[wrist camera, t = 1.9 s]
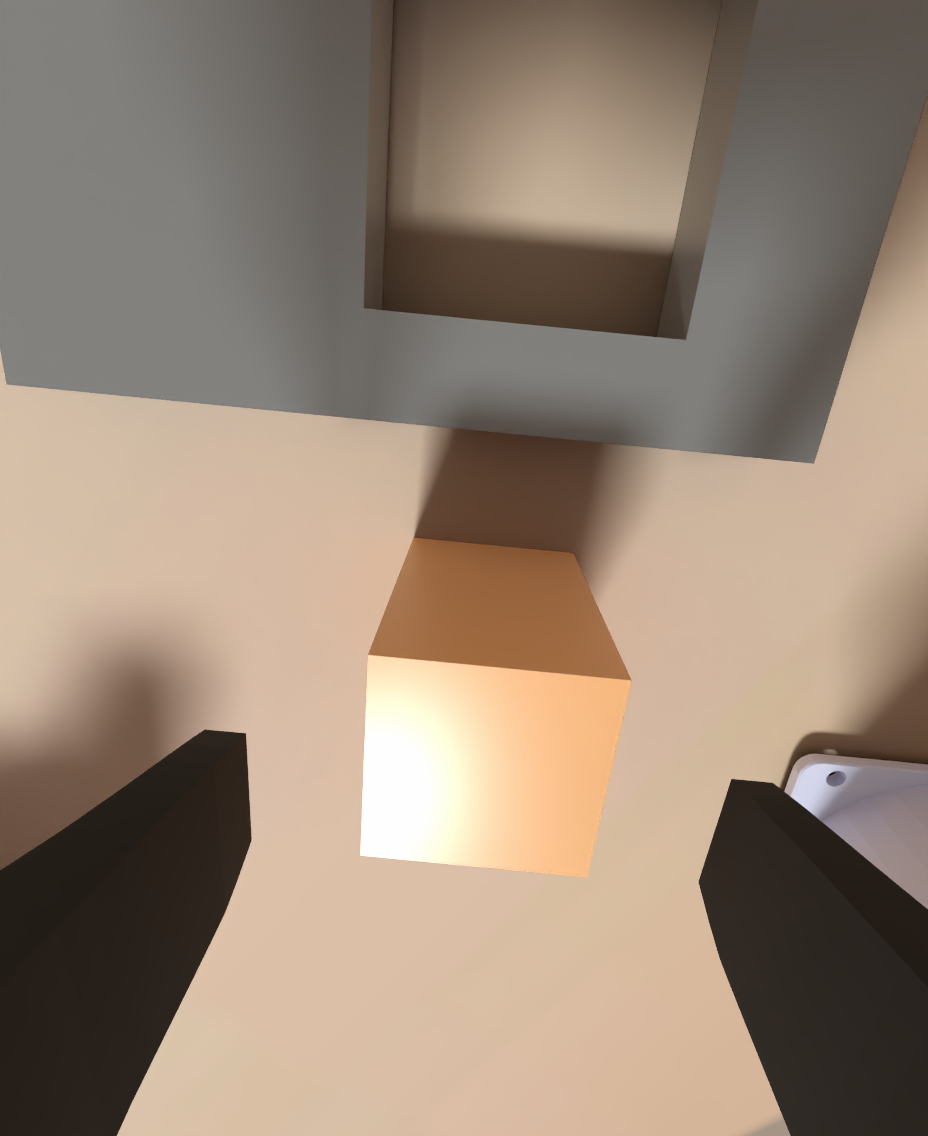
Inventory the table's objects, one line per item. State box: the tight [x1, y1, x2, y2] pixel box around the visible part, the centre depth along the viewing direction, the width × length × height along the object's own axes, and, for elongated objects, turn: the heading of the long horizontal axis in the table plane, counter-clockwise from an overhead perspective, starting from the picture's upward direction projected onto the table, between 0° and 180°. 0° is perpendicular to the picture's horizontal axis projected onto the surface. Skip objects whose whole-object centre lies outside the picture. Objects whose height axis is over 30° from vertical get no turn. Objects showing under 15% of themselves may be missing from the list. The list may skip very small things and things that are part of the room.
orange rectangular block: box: [361, 538, 631, 877], centre depth 12 cm, size 4×4×6 cm
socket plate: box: [0, 0, 928, 463], centre depth 10 cm, size 16×12×2 cm
